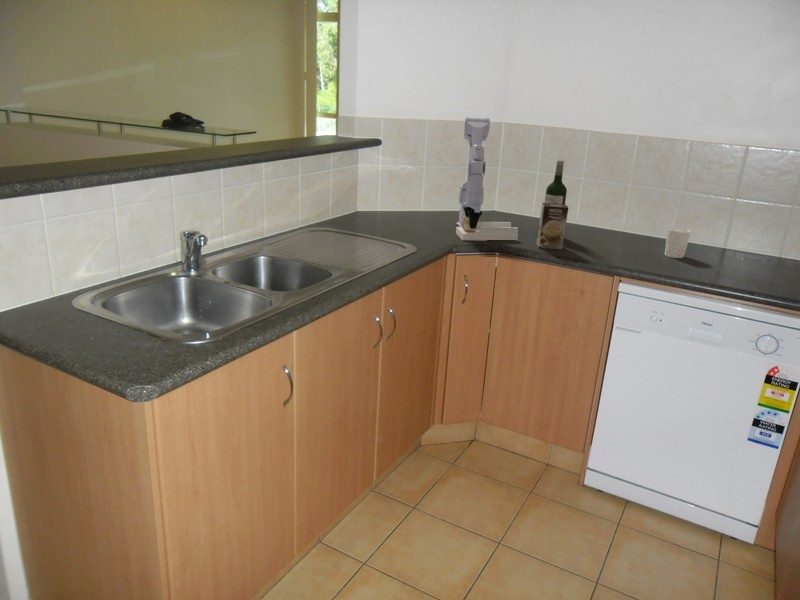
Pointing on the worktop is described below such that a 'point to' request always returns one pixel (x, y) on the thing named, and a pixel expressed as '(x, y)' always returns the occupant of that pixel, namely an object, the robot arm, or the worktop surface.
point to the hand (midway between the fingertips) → (471, 226)
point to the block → (467, 224)
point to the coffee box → (552, 226)
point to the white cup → (676, 242)
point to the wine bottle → (556, 187)
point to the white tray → (489, 231)
